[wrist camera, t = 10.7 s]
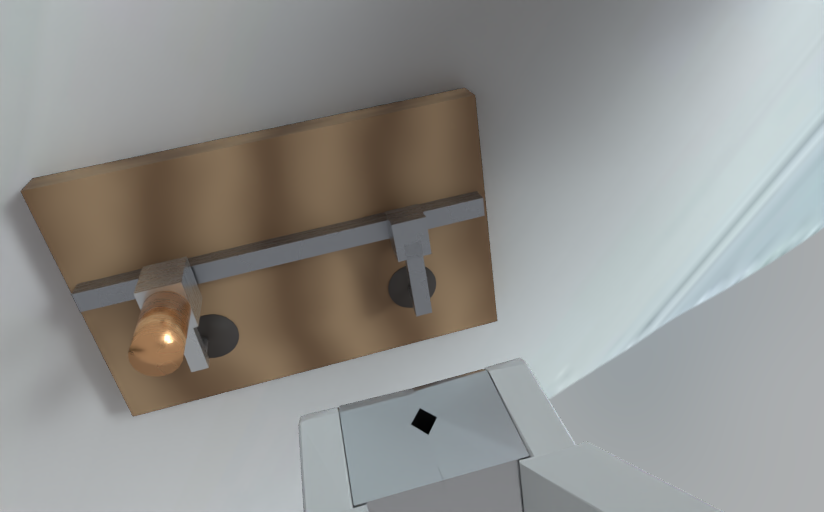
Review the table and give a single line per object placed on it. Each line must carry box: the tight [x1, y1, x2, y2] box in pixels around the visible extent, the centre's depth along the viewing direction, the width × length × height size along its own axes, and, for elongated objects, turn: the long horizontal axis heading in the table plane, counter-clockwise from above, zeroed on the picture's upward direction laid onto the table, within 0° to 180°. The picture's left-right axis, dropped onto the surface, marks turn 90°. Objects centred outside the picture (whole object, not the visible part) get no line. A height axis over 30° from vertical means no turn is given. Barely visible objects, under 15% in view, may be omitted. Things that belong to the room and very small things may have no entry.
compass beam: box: [71, 191, 485, 316], centre depth 36 cm, size 24×6×3 cm, turn 99°
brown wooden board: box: [21, 88, 497, 416], centre depth 38 cm, size 25×16×2 cm, turn 99°
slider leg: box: [128, 256, 210, 377], centre depth 33 cm, size 2×7×8 cm, turn 9°
